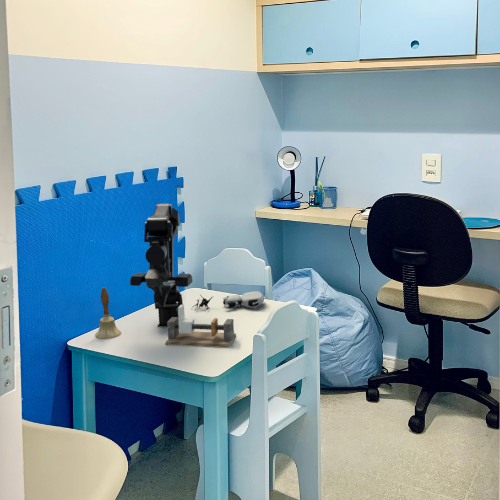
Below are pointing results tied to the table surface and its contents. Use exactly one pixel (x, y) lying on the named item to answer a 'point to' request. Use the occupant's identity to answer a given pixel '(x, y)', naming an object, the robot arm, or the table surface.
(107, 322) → the hand bell
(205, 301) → the creature
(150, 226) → the robot arm
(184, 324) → the white l-bracket
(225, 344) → the rail board
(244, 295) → the robot toy
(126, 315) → the table surface
